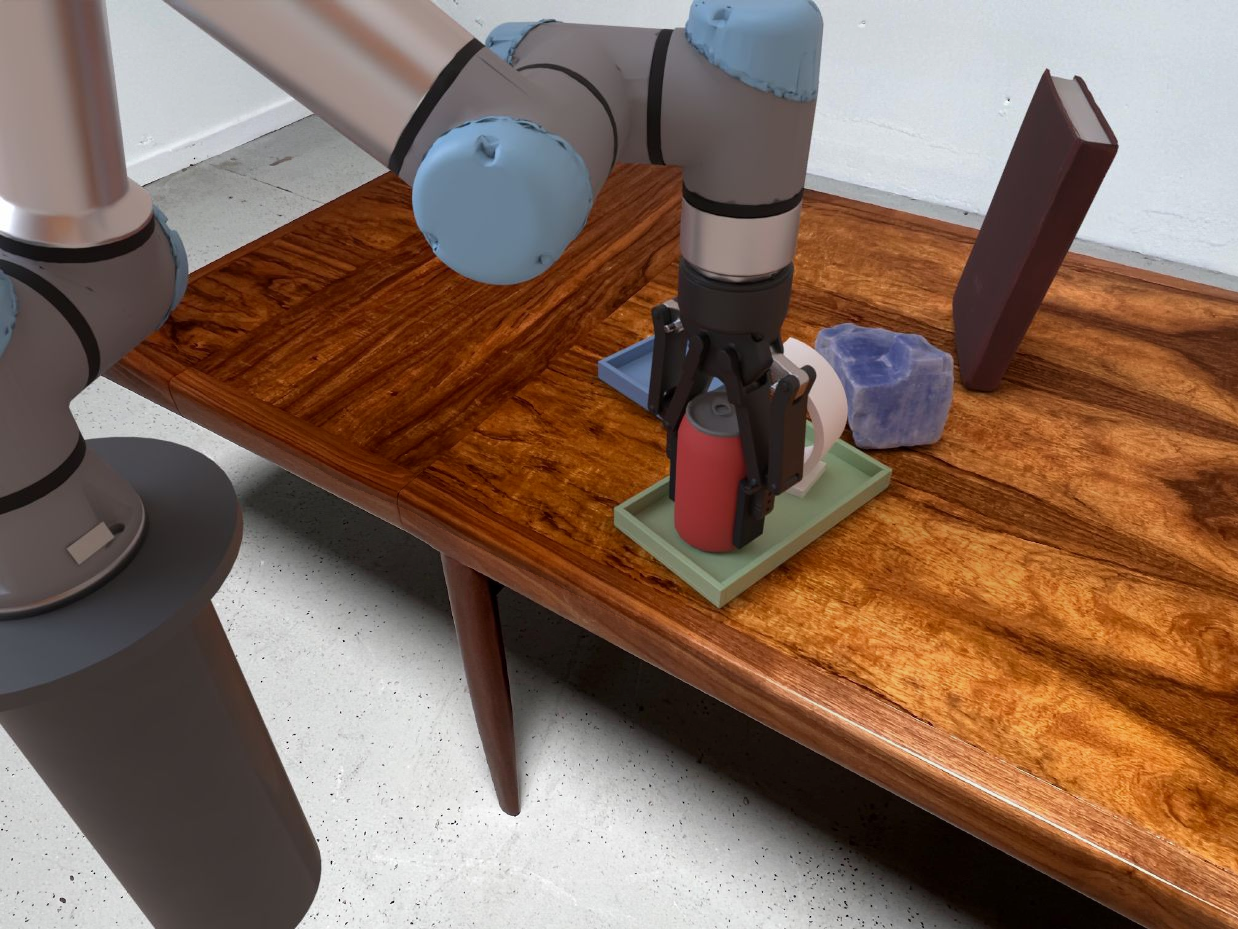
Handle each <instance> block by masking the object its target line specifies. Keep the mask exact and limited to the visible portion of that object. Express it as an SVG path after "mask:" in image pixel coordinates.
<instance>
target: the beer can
mask: <svg viewBox="0 0 1238 929" xmlns="http://www.w3.org/2000/svg"><path fill="white" fill-rule="evenodd" d="M746 477H748V476H747V471H746V465H745V460H744V455H743V449H742V444H741V438H740V433H739V427H738V422H737V417H736V411H735V406H734V405H733V404H730V403H729V401H728V397H727V392H726V390H713V391H709V392H704V393H702V394H700V395H698V396H696V397H694V398H693V399H692V400H691V401H690V402H689V403H688V405H687V407H686V413H685V415H684V417H683V419H682V421H681V424H680V427H679V430H678V441H677V463H676V485H675V507H674V525H675V529H676V531H677V532H678V534H679V536H680V537H681V538H682V539H683V540H684V541H685V542H686V543H687V544H689V545H690V546H692V547H695V548H697V549H699V550H702V551H707V552H726V551H730V550H734V549H736V547H735V546H734V545H732V544H733V534H734V525H735V515H736V506H737V496H738V487H739V482H740V481H741V480H743V479H745V478H746Z"/></svg>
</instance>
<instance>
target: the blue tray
mask: <svg viewBox="0 0 1238 929" xmlns="http://www.w3.org/2000/svg"><path fill="white" fill-rule="evenodd" d="M654 337H655V333H654V334H653V335H650V336H648V337H646V338H644V339H642V340H640V341H638V342H636V343H634V344H631V345H630V346H627V347H625V348H623V349H621V350H619V351H617V352H615V353H613V354H611V355H609V356H607V357H604V358H602V359H600V360H598V361H597V373H598V374H597V378H598V379H599V380H601V381H603V382H604V383H606V384H607V385H608V386H610V387H611V388H613V389H614V390H616V391H618V392H619V393H621V394H622V395H624V396H625V397H627V398H628V399H630V400H631V401H633V402H634V403H636V404H637V405H639V406H640V407H642V408H643V409H644V410H647V411H648V412H649V410H648V407H647V404H648V395H649V385H650V375H651V366H652V356H653V346H654ZM688 344H689V341H688V342H687V350H686V354H687V352H688V349H689V347H688ZM713 390H726V387H725V384H723V383H722V382H721V381H720V380H719V379H718V378H716V377H714V378H713V380H712V382H711V384H710V387H709V389H708V391H707V392H709V391H713ZM664 394H666V392H665V393H664ZM655 417H657V418H658V419H660V420H661V421H663V419H662V418H661V417H660V416H659V415H656V416H655Z"/></svg>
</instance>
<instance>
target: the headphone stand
mask: <svg viewBox="0 0 1238 929" xmlns="http://www.w3.org/2000/svg"><path fill="white" fill-rule="evenodd" d="M783 346H784V356H785V357H787V358H788V359H789V360H790V361H791V362H792V363H794V364H795V365H796V366H797V367H798V368H801V367H803V366H805V365H810V366H812V367H813V368H814V369H815V371H816V375H817V377H816V380H815V382H814V384H813V386H812V388H811V390H810V393H809V395H808V403H807V413H808V415H809V417H810V419H811V422H812V423H813V427H814V435H815V436H814V445H812V446H809V447H805V450H804V466H803V478H802V480H801V481H800V482H798V483H797V484H795V485H794V486H792V487H791V488H789V489H788V490H786V491H785V492H787V493H790V494H792V495H795V496H797V497H799V498H802V499H803V497H804V496H805V495H806V494H807V492H808V491H809V490H810V489H811V487H812V486H813V485H814V484H815V482H816V481H817V480H818V479H819V478H820V476H821V475H822V474H823V473H824V471H825V469H826V464H827V463H825V462H822V461H820V460H821V459H822V458H823V457H824V456H825V454H826V453H827V452H828V451H829V450H830V448H831V447H832V446H833V445H834V444H835V442H836V441H837V440H838V439H840V438H841V436H842V434H843V432H844V430H845V427H846V426H847V425H846V424H847V421H848V417H847V414H848V406H847V399H846V394H845V391H844V388H843V386H842V383H841V381H840V379H839V377H838V376H837V374H836V372H835V371H834V369H833V368H832V367H831V365H830V364H829V363H828V362H827V361H826V360H825V359H824V358H823V357H822V356H821V355H820V354H819V353H818V352H817V351H815V348H812V347H811V346H810V345H809V344H807V343H805V342H803V341H801V340H799V339H797V338H794V337H791V336H790V337H789V338H788V339H787V340H786V341H784V342H783ZM772 376H773V374H772Z"/></svg>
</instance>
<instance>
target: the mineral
mask: <svg viewBox="0 0 1238 929" xmlns="http://www.w3.org/2000/svg"><path fill="white" fill-rule="evenodd" d="M814 350H815V351H817V352H818V353H819V354H820V355H821V356H822V357H823V358H824V359H825V360H826V361H827V362H828V363H829V364H830V365H831V367H832V368H833V369H834V371H835V372H836V374H837V376H838V377H839V379H840V381H841V383H842V386H843V388H844V391H845V394H846V399H847V406H848V414H847V421H848V425H849V428H850V430H851V431H852V438H853V440H854V444H855V446H856V447H858V448H860V449H862V450H885V449H893V448H899V447H914V446H922V445H923V446H925V445H932V444H936V443H937V442H938V441H940V440H941V438H942V435H943V432H944V429H945V427H946V423H947V420H948V417H949V413H950V410H951V406H952V403H953V398H954V382H955V377H954V367H955V365H954V364H955V363H954V360H955V359H954V358H953V356H952V355H951V354H950V353H949V352H946V351H944V350H942V349H940V348H938V347H937V346H934V345H932V344H931V343H930V342H929V341H928V340H927V339H926V338H925V337H924V336H922V335H920V334H916V333H903V332H896V331H892V330H888V329H885V328H882V327H877V328H875V327H864V326H860V325H857V324H855V323H854V322H845V323H841V324H837V325H834V326H833V327H825V328H822V329H820V330H819V331H818V333H817V338H816V339H815V341H814Z"/></svg>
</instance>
